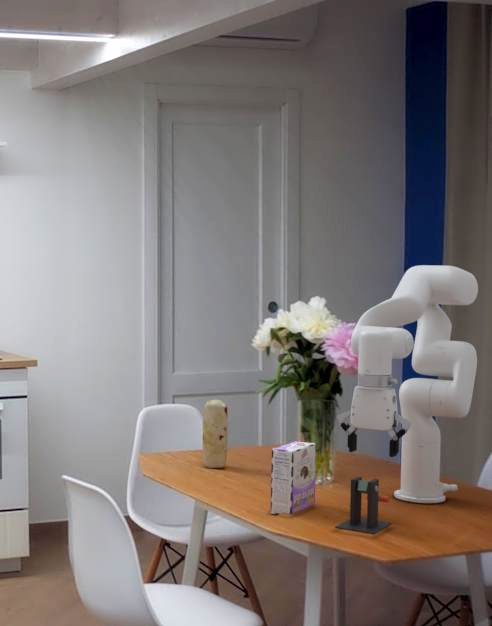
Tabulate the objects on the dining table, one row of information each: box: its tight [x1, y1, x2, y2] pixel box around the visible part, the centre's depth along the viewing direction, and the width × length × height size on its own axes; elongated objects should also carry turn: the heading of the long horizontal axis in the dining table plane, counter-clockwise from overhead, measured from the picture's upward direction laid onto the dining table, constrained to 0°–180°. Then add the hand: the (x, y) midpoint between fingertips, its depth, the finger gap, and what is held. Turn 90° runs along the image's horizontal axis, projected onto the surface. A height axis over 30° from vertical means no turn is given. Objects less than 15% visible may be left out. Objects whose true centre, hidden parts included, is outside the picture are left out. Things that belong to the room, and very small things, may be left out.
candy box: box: [269, 440, 317, 516], centre depth 264 cm, size 14×6×16 cm, turn 141°
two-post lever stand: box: [334, 476, 393, 535], centre depth 247 cm, size 12×9×12 cm
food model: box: [202, 399, 229, 469], centre depth 318 cm, size 10×7×20 cm
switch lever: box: [357, 479, 390, 504], centre depth 250 cm, size 12×5×2 cm, turn 143°
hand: (372, 453), depth 252 cm, fingers open, 9 cm apart
